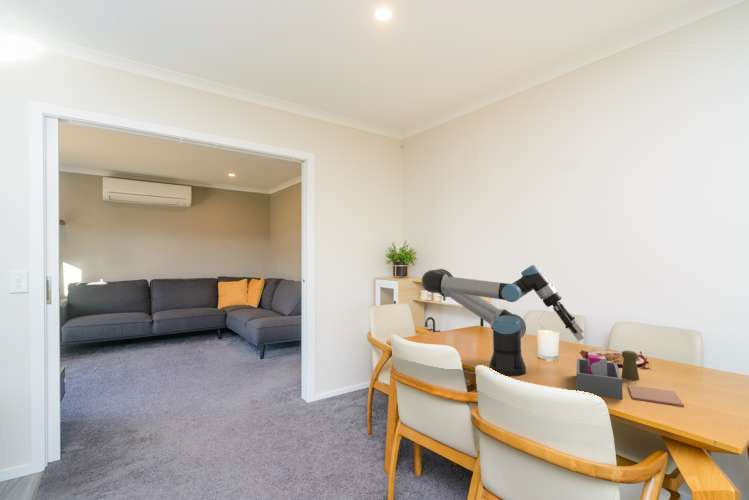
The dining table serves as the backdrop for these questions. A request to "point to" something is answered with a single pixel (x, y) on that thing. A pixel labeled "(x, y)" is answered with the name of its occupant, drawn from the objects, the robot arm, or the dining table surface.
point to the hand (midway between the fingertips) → (581, 336)
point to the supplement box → (597, 365)
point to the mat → (654, 395)
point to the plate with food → (616, 357)
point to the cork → (629, 366)
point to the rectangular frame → (599, 380)
